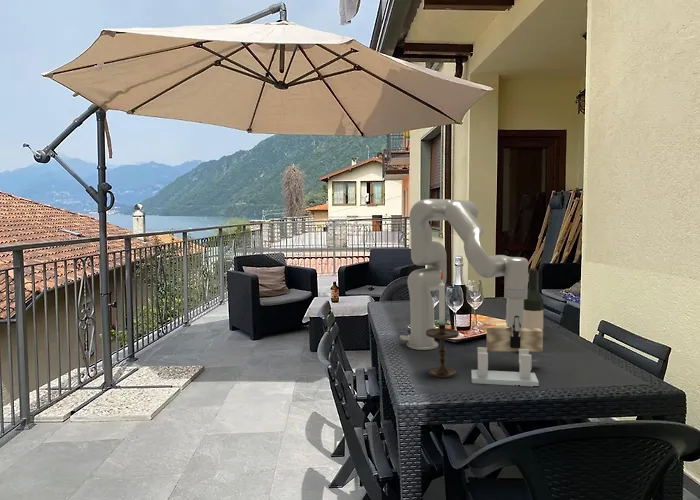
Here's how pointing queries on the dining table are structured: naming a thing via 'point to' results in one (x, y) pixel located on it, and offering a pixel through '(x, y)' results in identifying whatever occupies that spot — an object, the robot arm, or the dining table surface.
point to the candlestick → (442, 337)
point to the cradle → (503, 376)
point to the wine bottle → (533, 304)
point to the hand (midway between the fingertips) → (514, 345)
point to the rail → (501, 339)
